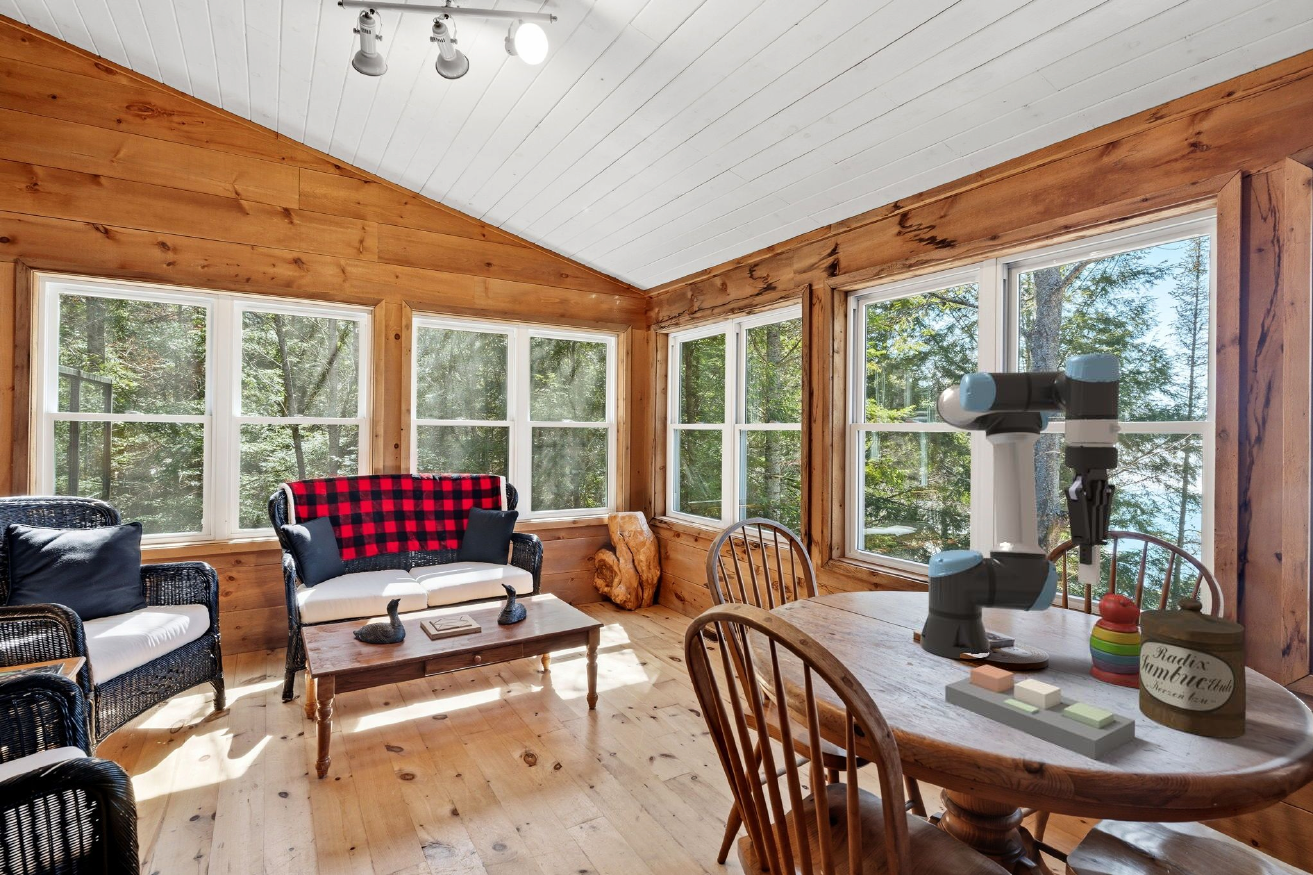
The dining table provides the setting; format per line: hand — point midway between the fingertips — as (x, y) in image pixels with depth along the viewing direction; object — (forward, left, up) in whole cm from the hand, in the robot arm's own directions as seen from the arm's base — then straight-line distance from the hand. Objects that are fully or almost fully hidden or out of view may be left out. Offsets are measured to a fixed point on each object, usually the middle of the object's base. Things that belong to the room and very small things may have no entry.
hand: (1088, 582), depth 110 cm
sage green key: (0, 0, -25) cm, 25 cm away
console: (-8, -1, -26) cm, 27 cm away
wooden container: (+7, +23, -27) cm, 36 cm away
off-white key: (-8, 0, -24) cm, 25 cm away
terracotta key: (-17, 0, -24) cm, 29 cm away
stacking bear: (-9, +34, -26) cm, 44 cm away
